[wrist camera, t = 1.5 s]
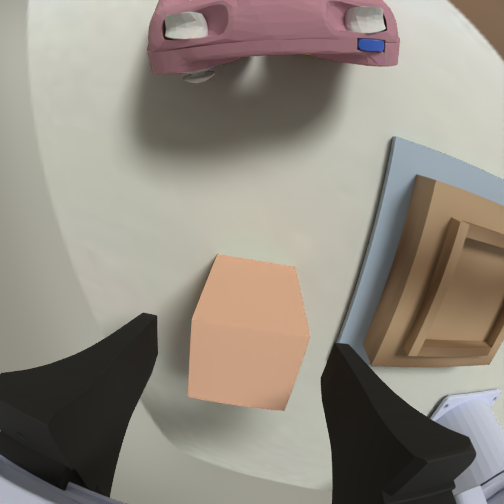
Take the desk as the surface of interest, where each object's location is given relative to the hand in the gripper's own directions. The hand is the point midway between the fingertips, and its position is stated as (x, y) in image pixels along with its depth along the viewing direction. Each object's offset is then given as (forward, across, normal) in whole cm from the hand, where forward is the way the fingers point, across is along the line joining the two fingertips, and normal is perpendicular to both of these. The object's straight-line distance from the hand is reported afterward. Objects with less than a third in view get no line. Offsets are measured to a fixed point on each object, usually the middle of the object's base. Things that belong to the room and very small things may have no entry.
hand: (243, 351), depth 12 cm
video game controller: (+5, +1, -13) cm, 14 cm away
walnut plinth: (+5, -12, -3) cm, 13 cm away
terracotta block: (+5, 0, 0) cm, 5 cm away
